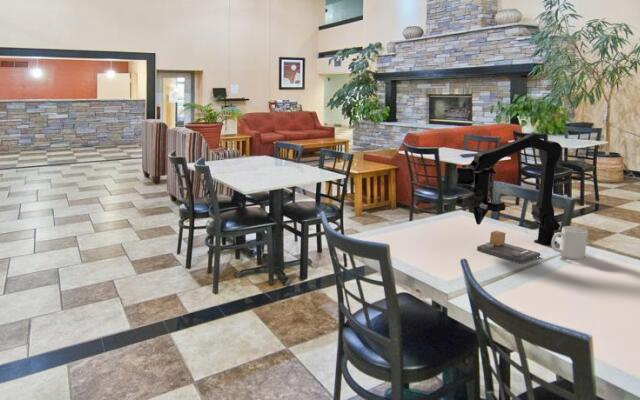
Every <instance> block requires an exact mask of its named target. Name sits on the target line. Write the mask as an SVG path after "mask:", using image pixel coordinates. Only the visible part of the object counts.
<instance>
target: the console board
mask: <svg viewBox="0 0 640 400" xmlns="http://www.w3.org/2000/svg"><path fill="white" fill-rule="evenodd" d="M476 251H479V252H481V253H485V254H488V255H492V256H495V257H498V258H501V259H504V260H506V261H507V260H508V261H510V260H511V261H510V262H513V261H515V263H517V262H519V263H518V264H520V263H522V264H524V263H523V262H525V263H527V262H526V261H528V262H530V261H529V260H531V259H533V260H535V259H534V258H536V259H538V258H537V257H539V256H540V257H541V252H538V251H535V250H530V249H527V248H523V247H520V246H518V245H517V246H516V245H513V244H509V243H506V242H505V244H503V245H500V246H497V245H494V244H493V243H490V242H486V243H485V244H481V245H478V246H476ZM540 257H539V258H540ZM531 261H532V260H531Z"/></svg>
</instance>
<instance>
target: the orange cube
mask: <svg viewBox="0 0 640 400" xmlns="http://www.w3.org/2000/svg"><path fill="white" fill-rule="evenodd" d="M489 243H493V244H494V245H497V246H500V245H503V244H505V243H506V232H504V231H500V230H495V231H491V232H490V238H489Z"/></svg>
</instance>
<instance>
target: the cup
mask: <svg viewBox="0 0 640 400" xmlns="http://www.w3.org/2000/svg"><path fill="white" fill-rule="evenodd" d="M588 234H589V229H586V228H585V227H580V226H574V225H565V226H562V228H561V232H559V231H558V232H555V235H554V236H553V238H552V243H551V245H550V246H551V249H552V250H553V251H555V252H558V253H559V255H560V257H562V258H564V259H569V260H574V261H575V260H576V261H577V260H579V261H580V260H583V259H584V258H585V256H586V250H587V249H586V248H587V244H588V243H587V242H588ZM557 237H560V242H559V248H557V247H556V244H555V241H556V239H557Z"/></svg>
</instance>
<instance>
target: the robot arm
mask: <svg viewBox="0 0 640 400" xmlns="http://www.w3.org/2000/svg"><path fill="white" fill-rule="evenodd" d="M530 147H531V148H533V149H535V150H538V156H539V159H540V163H541V167H540V168H541V170H540V179H539V180H540V181H539V188H538V190H539V191H538V198H537V199H538V200H537V201H536V204H534V203H533V204H532V205H531V212H530V214H531V215H532V219H533V220H534V221H535V223H536V225H538V226H539V227H538V234H537V239H534V240H533V242H534V243H537V244H542V245H545V246H549V247H550V246H552V245H551V243H552V238H553V236H554V235H555V234H556V231H559V230H560V228H561V224H560V223H559V222H558V221H557V220H556V219H555V218H556V217H555V208H554V207H553V203H552V199H553V191H554V184H555V183H554V181H555V171H556V166H557V164H558V162H559V160H560V159H561V154H562V150H563V148H562V145H561V144H560V143H559V142H556V141H552V140H549V139H547V140H544V139H542V138H539V137H537V136H536V135H534V134H525V135H524V136H523V137H520V138H518V139H516V140H513V141H511V142H508V143H505V144H503V145H501V146H498V147H496V148H492V149H491V148H490V149H485V150H482V151H478V152H476V153H475V154H474V156H473V160H471V162H470V163H469V165H467V167H461V166H456V167H455V170H454V174H453V176H452V178H453V179H452V180H453V184H454V185H455V186H471V185H472V184H473V186H472V187H470V191H469V193H466V194H460V195H457V196H456V197H455V203H456V204H459V205H463V206H465V207H466V206H467V208H468V209H470V210H471V212H472V213H473V216H474V220H475V223H476V225H481V223H482V221H483V220H484V218H485V216H486V215H487V214H488V212H489V211H491V212H494V213H499V212H502V211H506V203H505V202H503V201H498V200H495V201H491V198H490V197H489V195H490V194H489V193H490V191H491V190H492V187H490V182H491V181H490V180H491V175H496V174H497V172H496V171H495V170H494V168H493V166H495V165H496V164H497V163H499V161H501V160H502V159H504V158H506V157H509V156H511V155H514V154H515V153H518V152H520V151H524V150H526V149H528V148H530ZM557 243H558V241H557V240H555V245H556V244H557Z"/></svg>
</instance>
